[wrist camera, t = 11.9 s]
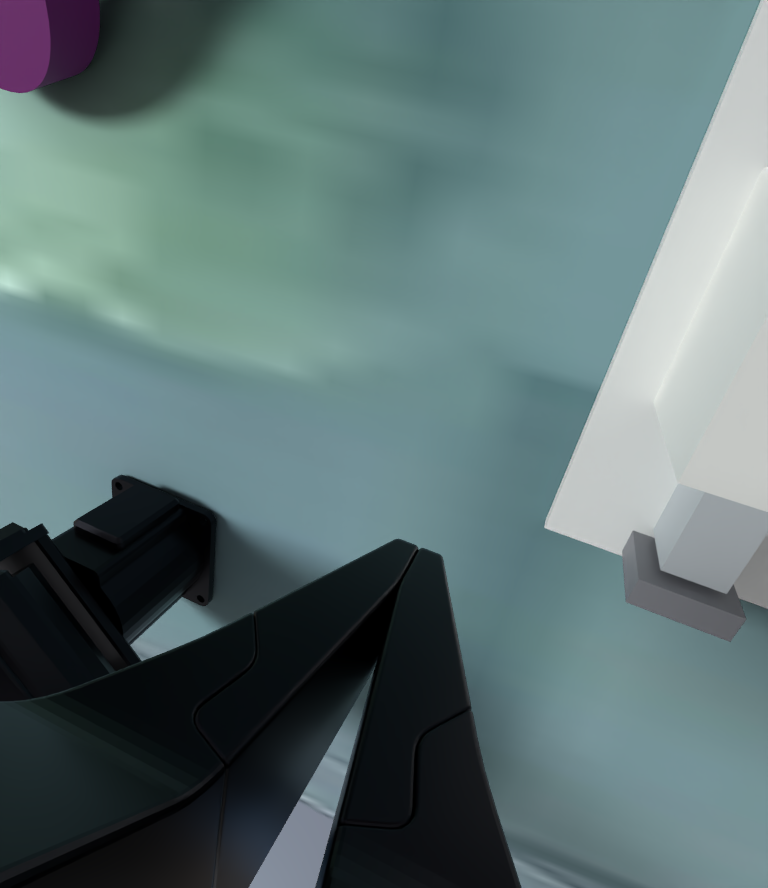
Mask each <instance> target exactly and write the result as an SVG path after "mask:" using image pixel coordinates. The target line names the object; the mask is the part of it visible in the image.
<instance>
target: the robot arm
mask: <svg viewBox="0 0 768 888" xmlns="http://www.w3.org/2000/svg"><path fill="white" fill-rule="evenodd" d="M112 497H113V498H112V499H110V500H108V501H107V502H105V503H103V504H102V505H100V506H98V507H97V508H95V509H93V510H91V511H90V512H88V513H86V514H85V515H83V516H81V517H80V518H78V519H76V520H75V521H74V527H72V528H70V529H69V530H67V531H65V532H64V533H62V534H60V535H59V536H57V537H55V538H54V539H52V540H51V539H50V537H49V536H48V535H47V534H48V533H49V532H48V531H47V529H46V528H45V527H44V525H43V524H40V525H38V526H36V527H34V528H32V529H31V530H29V531H28V529H27V528H23V527H21V526H19V525H17V524H15V523H13V522H12V523H11V524H9V525H7V526H5V527H3V528H1V529H0V888H248V887H249V886H250V884H251V882H252V881H253V879H254V877H255V875H256V874H257V872H258V870H259V868H260V866H261V865H262V863H263V861H264V860H265V858H266V856H267V854H268V853H269V851H270V849H271V847H272V846H273V844H274V842H275V840H276V839H277V837H278V835H279V834H280V832H281V830H282V828H283V827H284V825H285V823H286V821H287V819H288V818H289V816H290V814H291V813H292V811H293V809H294V807H295V806H296V804H297V802H298V800H299V799H300V797H301V795H302V793H303V792H304V790H305V788H306V786H307V785H308V783H309V781H310V780H311V778H312V776H313V774H314V773H315V771H316V769H317V767H318V766H319V764H320V762H321V760H322V759H323V757H324V755H325V753H326V752H327V750H328V748H329V746H330V745H331V743H332V741H333V739H334V738H335V736H336V734H337V732H338V731H339V729H340V727H341V725H342V724H343V722H344V720H345V719H346V717H347V715H348V713H349V712H350V710H351V708H352V706H353V705H354V703H355V701H356V699H357V698H358V696H359V694H360V692H361V691H362V689H363V687H364V685H365V684H366V682H367V680H368V678H369V676H370V675H371V673H372V671H373V669H374V667H375V670H374V673H373V677H372V680H371V684H370V688H369V691H368V695H367V699H366V702H365V706H364V710H363V714H362V717H361V721H360V725H359V728H358V732H357V736H356V739H355V743H354V747H353V750H352V754H351V758H350V761H349V765H348V769H347V772H346V776H345V780H344V784H343V787H342V791H341V795H340V798H339V802H338V806H337V809H336V813H335V817H334V820H333V824H332V828H331V831H330V835H329V839H328V843H327V846H326V850H325V854H324V858H323V861H322V865H321V868H320V872H319V876H318V880H317V883H316V887H315V888H521V885H520V882H519V878H518V875H517V872H516V869H515V866H514V863H513V860H512V857H511V854H510V850H509V847H508V844H507V841H506V838H505V835H504V832H503V829H502V826H501V822H500V819H499V816H498V813H497V810H496V806H495V803H494V800H493V796H492V793H491V789H490V786H489V782H488V779H487V776H486V772H485V768H484V764H483V759H482V755H481V750H480V746H479V742H478V737H477V732H476V727H475V722H474V717H473V713H472V712H471V702H470V697H469V692H468V687H467V681H466V676H465V671H464V666H463V661H462V655H461V650H460V645H459V640H458V634H457V629H456V624H455V619H454V614H453V608H452V603H451V598H450V593H449V587H448V582H447V577H446V572H445V567H444V561H443V557H442V556H441V555H440V554H438V553H435V552H432V551H430V550H427V549H425V548H421V549H419V550H418V547H417V546H416V545H414V544H412V543H409V542H406V541H404V540H401V539H395V540H393V541H391V542H389V543H387V544H385V545H383V546H381V547H379V548H377V549H375V550H373V551H371V552H369V553H367V554H366V555H364V556H362V557H360V558H358V559H356V560H354V561H352V562H350V563H348V564H346V565H344V566H342V567H340V568H338V569H336V570H334V571H332V572H330V573H328V574H326V575H324V576H323V577H321V578H319V579H317V580H315V581H313V582H311V583H309V584H307V585H305V586H303V587H301V588H299V589H297V590H295V591H293V592H291V593H289V594H287V595H285V596H283V597H282V598H280V599H278V600H276V601H274V602H272V603H270V604H268V605H266V606H264V607H262V608H260V609H258V610H256V611H255V612H254V615H253V614H252V613H250V614H248V615H246V616H244V617H242V618H240V619H238V620H236V621H234V622H232V623H230V624H228V625H226V626H224V627H222V628H220V629H218V630H215V631H213V632H211V633H209V634H207V635H205V636H203V637H201V638H198V639H196V640H193V641H191V642H189V643H186V644H184V645H181V646H179V647H177V648H174V649H172V650H169V651H167V652H164V653H162V654H159V655H157V656H154V657H152V658H149V659H146V660H144V661H141V659H140V658H139V657H138V655H137V654H136V653H135V651H134V650H133V649H132V647H131V646H130V645H131V644H132V643H133V642H134V641H135V640H136V639H137V638H138V637H139V636H140V635H142V634H143V633H144V632H145V631H146V630H147V629H148V628H149V627H150V626H151V625H152V624H153V623H154V622H156V621H157V620H158V619H159V618H160V617H161V616H162V615H163V614H164V613H165V612H166V611H167V610H168V609H169V608H171V607H172V606H173V605H174V604H175V603H176V602H177V601H178V600H179V599H180V598H181V597H184V598H186V599H188V600H190V601H193V602H195V603H197V604H199V605H202V606H206V605H207V604H208V603H209V602H210V601H211V600H212V597H213V576H214V556H215V535H216V518H215V516H214V515H213V513H212V512H210V511H208V510H206V509H204V508H201V507H199V506H196V505H194V504H192V503H189V502H187V501H184V500H182V499H180V498H177V497H175V496H172V495H170V494H168V493H165V492H163V491H160V490H158V489H156V488H153V487H151V486H148V485H146V484H144V483H141V482H139V481H137V480H134V479H132V478H129V477H127V476H125V475H119V476H117V477H115V478H114V479H113V480H112ZM205 519H206V520H205ZM375 665H376V666H375Z"/></svg>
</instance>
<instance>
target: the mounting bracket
mask: <svg viewBox="0 0 768 888" xmlns="http://www.w3.org/2000/svg"><path fill="white" fill-rule="evenodd" d="M99 29H100V6H99V0H0V88H1V89H4V90H7V91H10V92H16V93H24V92H29V91H32V90H35V89H37V88H40V87H43V86H46V85H49V84H52V83H55V82H58V81H61V80H63V79H66V78H69V77H72V76H75V75H78V74H79V73H81V72H82V71H84V70H85V69H86V68H87V66H88V65H89V64H90V62H91V60H92V59H93V57H94V54H95V51H96V48H97V44H98V38H99Z"/></svg>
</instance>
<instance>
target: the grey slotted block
mask: <svg viewBox="0 0 768 888" xmlns="http://www.w3.org/2000/svg"><path fill="white" fill-rule="evenodd" d="M653 403H654V407H655V410H656V413H657V417H658V420H659V423H660V426H661V430H662V433H663V436H664V440H665V443H666V446H667V450H668V453H669V456H670V460H671V463H672V466H673V470H674V473H675V476H676V480H677V483H678V484H682V485H685V486H688V487H691V488H694V489H697V490H700V491H703V492H706V493H710V494H713V495H716V496H719V497H722V498H725V499H728V500H731V501H734V502H738V503H741V504H744V505H747V506H750V507H753V508H756V509H759V510H762V511H766V512H768V167H766V168H763V170H762V172H761V174H760V176H759V178H758V181H757V183H756V185H755V187H754V189H753V191H752V193H751V195H750V198H749V200H748V202H747V204H746V206H745V208H744V210H743V213H742V215H741V217H740V219H739V221H738V223H737V225H736V227H735V230H734V232H733V234H732V236H731V238H730V240H729V242H728V245H727V247H726V249H725V251H724V253H723V255H722V257H721V259H720V262H719V264H718V266H717V268H716V270H715V272H714V274H713V276H712V279H711V281H710V283H709V285H708V287H707V289H706V291H705V294H704V296H703V298H702V300H701V302H700V304H699V306H698V308H697V311H696V313H695V315H694V317H693V319H692V321H691V323H690V326H689V328H688V330H687V332H686V334H685V336H684V338H683V340H682V343H681V345H680V347H679V349H678V351H677V353H676V355H675V358H674V360H673V362H672V364H671V366H670V368H669V370H668V372H667V375H666V377H665V379H664V381H663V383H662V385H661V387H660V389H659V392H658V394H657V396H656V398H655V400H654V402H653Z"/></svg>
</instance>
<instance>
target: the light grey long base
mask: <svg viewBox="0 0 768 888" xmlns="http://www.w3.org/2000/svg"><path fill="white" fill-rule="evenodd" d="M766 167H768V0H761V1H760V4H759V6H758V8H757V11H756V13H755V16H754V18H753V21H752V23H751V25H750V28H749V30H748V33H747V35H746V37H745V40H744V42H743V45H742V47H741V50H740V52H739V54H738V57H737V59H736V62H735V64H734V66H733V69H732V71H731V74H730V76H729V79H728V81H727V83H726V86H725V88H724V91H723V93H722V95H721V98H720V100H719V103H718V105H717V107H716V110H715V112H714V115H713V117H712V120H711V122H710V124H709V127H708V129H707V132H706V134H705V136H704V139H703V141H702V144H701V146H700V149H699V151H698V153H697V156H696V158H695V161H694V163H693V165H692V168H691V170H690V173H689V175H688V178H687V180H686V182H685V185H684V187H683V190H682V192H681V194H680V197H679V199H678V202H677V204H676V206H675V209H674V211H673V214H672V216H671V219H670V221H669V223H668V226H667V228H666V231H665V233H664V235H663V238H662V240H661V243H660V245H659V248H658V250H657V252H656V255H655V257H654V260H653V262H652V264H651V267H650V269H649V272H648V274H647V277H646V279H645V281H644V284H643V286H642V289H641V291H640V293H639V296H638V298H637V301H636V303H635V305H634V308H633V310H632V313H631V315H630V318H629V320H628V322H627V325H626V327H625V330H624V332H623V334H622V337H621V339H620V342H619V344H618V347H617V349H616V351H615V354H614V356H613V359H612V361H611V363H610V366H609V368H608V371H607V373H606V376H605V378H604V380H603V383H602V385H601V388H600V390H599V392H598V395H597V397H596V400H595V402H594V404H593V407H592V409H591V412H590V414H589V417H588V419H587V421H586V424H585V426H584V429H583V431H582V433H581V436H580V438H579V441H578V443H577V446H576V448H575V450H574V453H573V455H572V458H571V460H570V462H569V465H568V467H567V470H566V472H565V474H564V477H563V479H562V482H561V484H560V487H559V489H558V491H557V494H556V496H555V499H554V501H553V503H552V506H551V508H550V511H549V513H548V516H547V518H546V521H545V527H544V528H546V529H549V530H552V531H555V532H557V533H560V534H563V535H566V536H568V537H571V538H574V539H577V540H579V541H582V542H585V543H588V544H590V545H593V546H596V547H599V548H601V549H604V550H607V551H610V552H612V553H615V554H618V555H621V556H622V558H623V571H624V584H625V597H626V602H627V603H630V604H632V605H635V606H638V607H640V608H643V609H645V610H648V611H651V612H653V613H656V614H659V615H661V616H664V617H666V618H669V619H672V620H674V621H677V622H680V623H682V624H685V625H687V626H690V627H693V628H695V629H698V630H700V631H703V632H706V633H708V634H711V635H714V636H716V637H719V638H721V639H724V640H727V641H729V642H731V640H732V639H733V637H734V636H735V635H736V633H737V632H738V630H739V629H740V628H741V626H742V625H743V623H744V622H745V621H746V617H745V614H744V611H743V609H742V606H741V603H740V600H739V599H742V600H745V601H748V602H750V603H753V604H756V605H759V606H761V607H764V608H767V609H768V512H766V511H762V510H759V509H756V508H753V507H750V506H747V505H744V504H741V503H738V502H734V501H731V500H728V499H725V498H722V497H719V496H716V495H713V494H710V493H706V492H703V491H700V490H697V489H694V488H691V487H688V486H685V485H682V484H678V483H677V480H676V476H675V473H674V470H673V466H672V463H671V460H670V456H669V453H668V450H667V446H666V443H665V440H664V436H663V433H662V430H661V426H660V423H659V420H658V417H657V413H656V410H655V407H654V403H653V402H654V400H655V398H656V396H657V394H658V392H659V389H660V387H661V385H662V383H663V381H664V379H665V377H666V375H667V372H668V370H669V368H670V366H671V364H672V362H673V360H674V358H675V355H676V353H677V351H678V349H679V347H680V345H681V343H682V340H683V338H684V336H685V334H686V332H687V330H688V328H689V326H690V323H691V321H692V319H693V317H694V315H695V313H696V311H697V308H698V306H699V304H700V302H701V300H702V298H703V296H704V294H705V291H706V289H707V287H708V285H709V283H710V281H711V279H712V276H713V274H714V272H715V270H716V268H717V266H718V264H719V262H720V259H721V257H722V255H723V253H724V251H725V249H726V247H727V245H728V242H729V240H730V238H731V236H732V234H733V232H734V230H735V227H736V225H737V223H738V221H739V219H740V217H741V215H742V213H743V210H744V208H745V206H746V204H747V202H748V200H749V198H750V195H751V193H752V191H753V189H754V187H755V185H756V183H757V181H758V178H759V176H760V174H761V172H762V170H763V168H766Z"/></svg>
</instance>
